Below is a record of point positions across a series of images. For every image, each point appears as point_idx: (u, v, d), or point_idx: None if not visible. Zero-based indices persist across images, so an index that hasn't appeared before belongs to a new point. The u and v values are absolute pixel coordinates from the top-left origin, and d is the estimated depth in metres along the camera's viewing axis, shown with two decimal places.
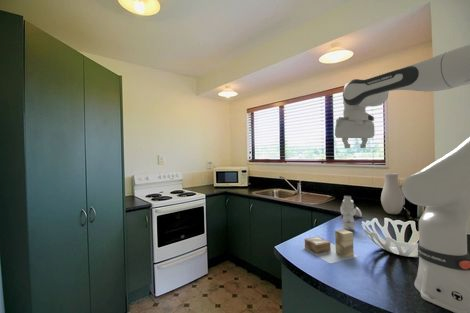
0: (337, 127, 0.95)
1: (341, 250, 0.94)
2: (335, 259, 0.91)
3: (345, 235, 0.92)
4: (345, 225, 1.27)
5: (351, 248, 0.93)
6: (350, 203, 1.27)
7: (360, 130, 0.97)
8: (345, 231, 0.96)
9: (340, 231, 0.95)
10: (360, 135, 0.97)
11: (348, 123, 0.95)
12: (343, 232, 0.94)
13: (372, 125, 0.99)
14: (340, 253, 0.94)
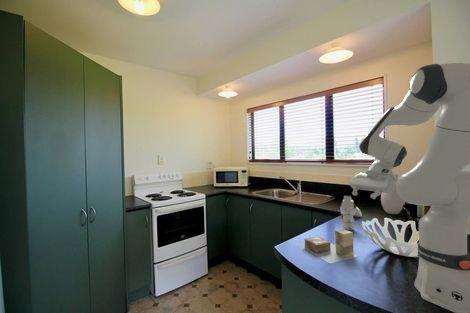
0: None
1: (341, 250, 0.94)
2: (335, 259, 0.91)
3: (345, 235, 0.92)
4: (345, 225, 1.27)
5: (351, 248, 0.93)
6: (350, 203, 1.27)
7: (371, 181, 1.01)
8: (345, 231, 0.96)
9: (340, 231, 0.95)
10: (369, 185, 1.01)
11: (361, 175, 1.08)
12: (343, 232, 0.94)
13: (388, 178, 0.95)
14: (340, 253, 0.94)
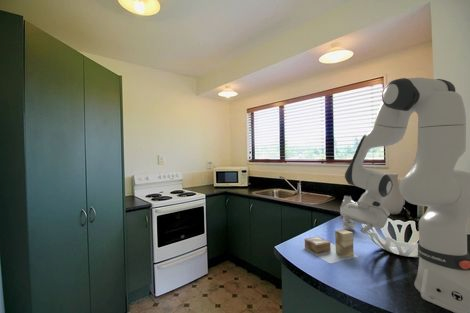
0: None
1: (341, 250, 0.94)
2: (335, 259, 0.91)
3: (345, 235, 0.92)
4: None
5: (351, 248, 0.93)
6: None
7: (362, 213, 0.97)
8: (345, 231, 0.96)
9: (340, 231, 0.95)
10: (359, 217, 0.97)
11: (352, 205, 1.05)
12: (343, 232, 0.94)
13: (379, 212, 0.92)
14: (340, 253, 0.94)
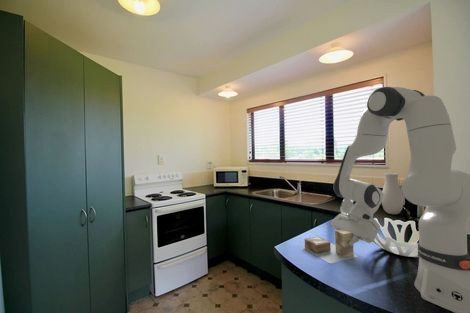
0: None
1: (341, 250, 0.94)
2: (335, 259, 0.91)
3: (345, 235, 0.92)
4: None
5: (351, 248, 0.93)
6: (350, 203, 1.27)
7: (352, 226, 0.95)
8: (345, 231, 0.96)
9: (340, 231, 0.95)
10: (349, 230, 0.95)
11: (343, 217, 1.02)
12: (343, 232, 0.94)
13: (368, 225, 0.89)
14: (340, 253, 0.94)
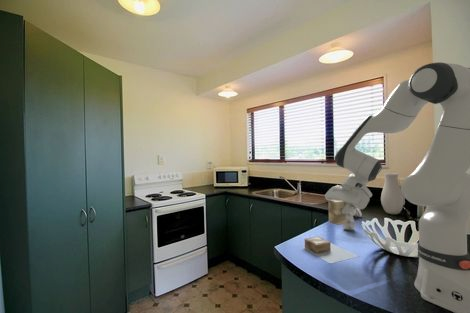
0: None
1: (334, 219, 0.95)
2: (335, 259, 0.91)
3: (338, 203, 0.94)
4: (345, 225, 1.27)
5: (344, 216, 0.95)
6: None
7: (345, 195, 0.97)
8: (338, 200, 0.97)
9: (333, 200, 0.97)
10: (342, 199, 0.96)
11: (336, 188, 1.04)
12: (336, 201, 0.96)
13: (360, 193, 0.91)
14: (333, 221, 0.96)
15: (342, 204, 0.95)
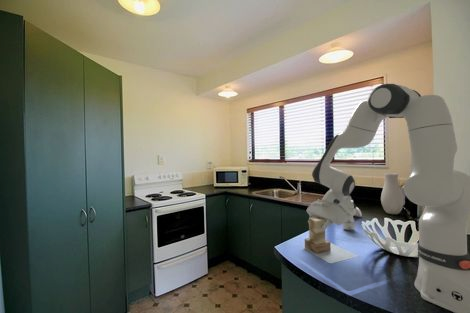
0: None
1: (314, 237, 1.00)
2: (335, 259, 0.91)
3: (317, 222, 0.98)
4: (345, 225, 1.27)
5: (323, 234, 0.99)
6: (350, 203, 1.27)
7: (324, 211, 1.01)
8: (318, 218, 1.02)
9: (313, 219, 1.01)
10: (321, 214, 1.01)
11: (317, 203, 1.09)
12: (316, 219, 1.00)
13: (338, 209, 0.95)
14: (313, 239, 1.00)
15: (321, 223, 0.99)
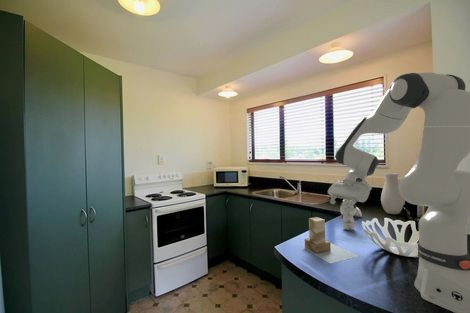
0: None
1: (314, 237, 1.00)
2: (335, 259, 0.91)
3: (317, 222, 0.98)
4: (345, 225, 1.27)
5: (323, 234, 0.99)
6: None
7: (347, 190, 1.05)
8: (318, 218, 1.02)
9: (313, 219, 1.01)
10: (344, 194, 1.05)
11: (338, 184, 1.12)
12: (316, 219, 1.00)
13: (361, 187, 0.99)
14: (313, 239, 1.00)
15: (321, 223, 0.99)
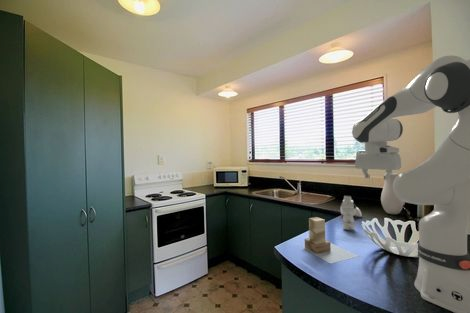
0: None
1: (314, 237, 1.00)
2: (335, 259, 0.91)
3: (317, 222, 0.98)
4: (345, 225, 1.27)
5: (323, 234, 0.99)
6: (350, 203, 1.27)
7: (376, 162, 0.99)
8: (318, 218, 1.02)
9: (313, 219, 1.01)
10: (376, 167, 1.00)
11: (362, 156, 1.06)
12: (316, 219, 1.00)
13: (390, 157, 0.93)
14: (313, 239, 1.00)
15: (321, 223, 0.99)
